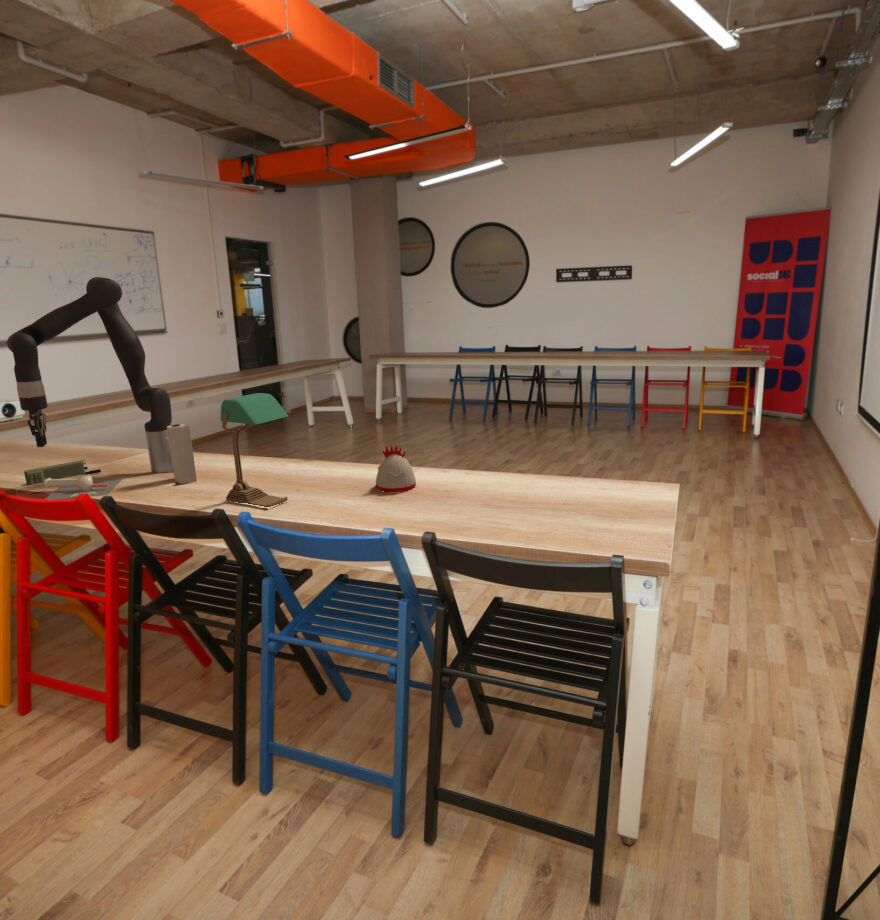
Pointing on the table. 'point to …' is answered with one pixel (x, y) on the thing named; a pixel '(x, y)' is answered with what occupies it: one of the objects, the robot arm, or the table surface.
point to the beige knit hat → (395, 472)
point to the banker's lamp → (238, 411)
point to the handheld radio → (57, 472)
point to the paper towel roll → (181, 453)
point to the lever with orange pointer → (75, 483)
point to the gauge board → (73, 491)
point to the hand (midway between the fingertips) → (42, 445)
